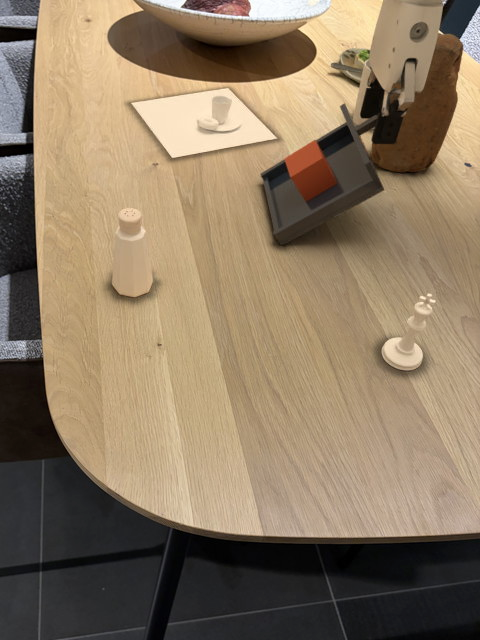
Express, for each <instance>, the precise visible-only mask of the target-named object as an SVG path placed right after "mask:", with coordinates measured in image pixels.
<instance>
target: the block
mask: <svg viewBox="0 0 480 640" xmlns="http://www.w3.org/2000/svg"><path fill="white" fill-rule="evenodd" d="M464 47H465V46H464V44H463V42H462V41H461V39H460V38H458V37H457V36H456V35H455V34H452V33H441V32H438V37H437V41H436V45H435V49H434V53H433V57H432V60H431V64H430V68H429V71H428V75H427V78H426V82H425V85H424V88H423V90H422V91H421V92H420V93H416V92H415V95H414V102H413V104H412V105H411V106H410V107H409V108H408V110H407V111H406V115H405V116H404V117H403V120H402V124H401V127H400V130H399V134H398V137H397V140H396V143H394V144H373V143H372V142H371V151H370V152H371V154H370V157H371V160H372V162H373V163H375V164H376V165H377V166H378V167H380V168H381V169H384V170H387V171H389V172H396V173H406V172H410V173H416V172H417V173H419V172H422V171H424V170H427V169H430V167H431V166H432V165H433V164H434V163H435V161H436V159H437V157H438V156H439V153H440V151H441V149H442V146H443V145H444V142H445V140H446V136H447V134H448V132H449V128H450V126H451V123H452V120H453V118H454V114H455V112H456V109H457V105H458V102H459V101H458V100H459V96H458V91H457V84H458V80H459V72H460V71H461V64H462V59H463V58H462V57H463V53H464ZM392 88H395V89H401V84H396V83H393V86H392ZM399 97H400V94H392V95H391V103H392V102H393V101H394V100H398V98H399Z"/></svg>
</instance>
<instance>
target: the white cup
mask: <svg viewBox="0 0 480 640" xmlns="http://www.w3.org/2000/svg"><path fill="white" fill-rule="evenodd" d="M370 73H371V66H370V62H369V59H368V60H366V61H365V63H364V68H363V73H362V78H361V82H360V83H359V88H358V92H357V98H356V102H355V107H354V110H353V116H352V119H353V121H354V123H355V125H356V126H358V125H359V124H361V123H363V122H365V121H366V120H368V119H364V118H361V116H360V112H361V108H362V104H363V100H364V95H365V91H366V88H371V87H367V81H368V78H369V75H370ZM374 128H375V127H374ZM374 128H372V129H371V130H374Z"/></svg>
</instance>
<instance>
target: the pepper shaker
mask: <svg viewBox="0 0 480 640" xmlns="http://www.w3.org/2000/svg"><path fill="white" fill-rule="evenodd" d="M117 218H118V227H117V229H116V231H115V234H114V246H113V259H112V278H111V285H112V286H113V288H114V289H115V290H116V292H117V293H118V294H119V295H121V296H126V297H131V298H136V297H139V296H142V295H144V294H148V293H149V292H150V290H151V288H152V286H153V283H154V278H153V270H152V264H151V257H150V250H149V243H148V236H147V230H145V228H144V227H143V226H142V219H143V214H142V212H141V211H140V210H139V209H137V208H133V207H126V208H123V209H121V210H120V211H119V212H118V214H117Z"/></svg>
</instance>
